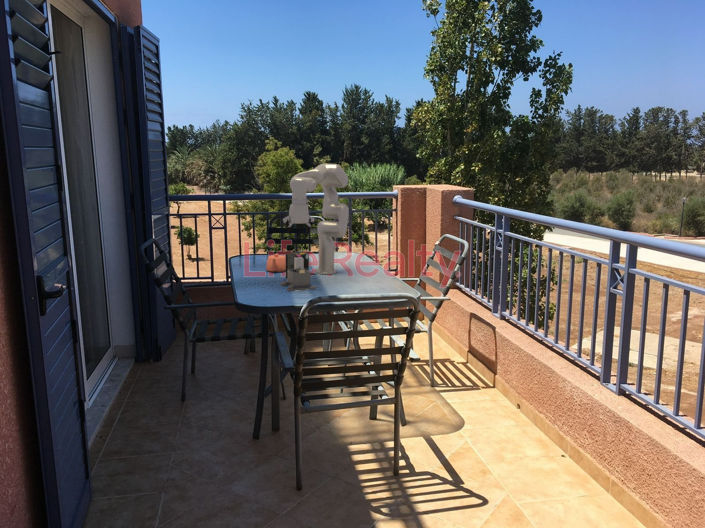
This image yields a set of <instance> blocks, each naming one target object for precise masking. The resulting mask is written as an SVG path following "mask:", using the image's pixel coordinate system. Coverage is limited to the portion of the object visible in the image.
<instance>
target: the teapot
mask: <svg viewBox="0 0 705 528" xmlns="http://www.w3.org/2000/svg"><path fill="white" fill-rule="evenodd" d="M265 267H266V271H267V272H271V273H273V272H278V273H282V272H286V255H280V254H279V253H274V254H272V255H269V256H268V257H267V259H266V266H265Z"/></svg>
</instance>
